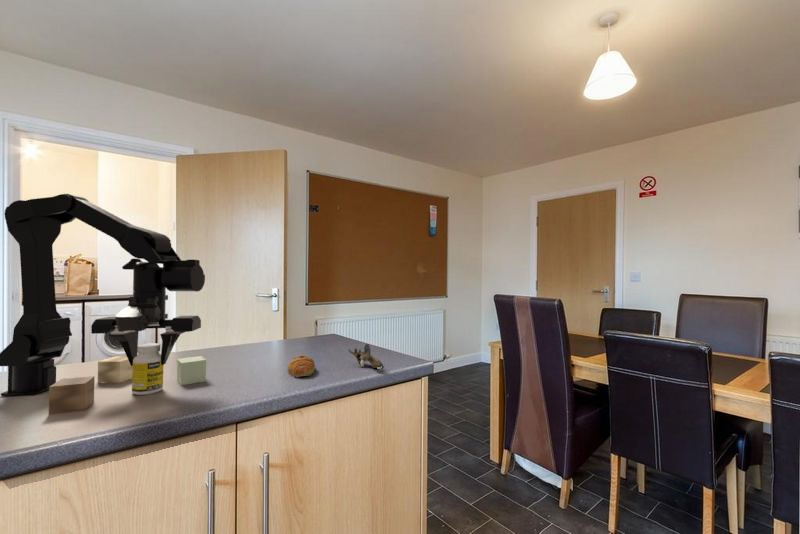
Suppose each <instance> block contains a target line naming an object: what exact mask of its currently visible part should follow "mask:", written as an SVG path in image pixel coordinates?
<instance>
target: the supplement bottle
mask: <svg viewBox="0 0 800 534" xmlns="http://www.w3.org/2000/svg"><path fill="white" fill-rule="evenodd" d="M160 351H161V344H160V343H158V342H157V343H156V342H155V343H154V342H153V343H150V342H149V343H143V344H139V345H138V348H137V356H136V357H134V359H133V372H132V379H131V380H132V381H131V382H132V383H131V393H132V394H133V395H135V396H136V395H138V396H140V395H141V396H146V395H151V394H156V393H158V392H160V391H162V390H163V387H164V365H165V364H164V365H161V353H160Z"/></svg>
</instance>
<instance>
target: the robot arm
mask: <svg viewBox="0 0 800 534" xmlns="http://www.w3.org/2000/svg"><path fill="white" fill-rule="evenodd" d="M76 219H77V220H79V221H80V222H83V223H84V224H86V225H88V226H91V227H92V228H94V229H95V230H98V231H99V232H101V233H103V234H105V235H107V236H109V237H111V238H113V239H114V240H115V241H116V242H118V244H119V246H120V247H121V249H123V250H124V251H125V252H127V253H128V254H129V255H130V256H132V258H130V260H129V261H128V262H127V263H125V264H124V265H122V266H121V268H122V270H133V272H132V273H133V277H132V278H133V280H132V282H133V283H132V296H129V299H128V304H127V306H126V307H123V309H121V310H120V311H118V312H117V313H116V314H115V315H114V316H105V317H101V318H95V320H93V321H92V324H91V327H90V329H91V334H92V335H94V334H108V337H109V338H113V339H115V340H116V341H117V342H119V345H120V346H121V347H122V349H123V351H124V353H125V356H127V358H128V360H129V362H130V365H131V366H133V359H134V357H136V356H138V352H137V348H138V343H139V332H142V331H146V329H164V330H165V331H164V332H163V333H160V334H159V336H160V338H161V341H162V342H161V350H160V351H161V353H160V354H161V365H166V364H167V362H168V359H169V356H170V354H171V353H172V350H173V348H174V346H175V344H176V342H177V341H178V339H179V337H180V336H181V335H182V334H184V333H187V332H188V333H189V332H190V333H191V332H194V331H196V330H199V329H201V327H202V320H201V317H200V316H199V315H180V316H175V317H173V318H171V319H168V317H169V314H168V313H166V301H168V299H169V295H168V294H166V292H167V291H166V290H168V291H169V292H200V291H201V290H203V288H204V285H205V281H206V275H205V274H204V270H203V268H202V266H201V264H200V261H201V260H199V259H185V260H184V259H183V260H182V259H181V257H180V256H179V255H178V254H177V253H176V251H175V249H174V248H173V247H172V243H171V241H172V240H171V239H170V238H169V237H168V235H165V234H162V233H160V232H157V231H155V230H150V229H147V228H144V227H140V226H137V225H134V224H132V223H130V222H128V221H126V220H125V219H123V218H120V216H119V217H118V216H117V215H115V214H113V213H111V212H109V211H107V210H106V209H104V208H102V207H100V206H99V205H96V204H94V203H92V202H90V201H89V200H88V199H87V198H86V197H83V196H80V195H79V196H78V195H76V194H75V195H74V194H70V193H63V194H61V193H60V194H58V195H55V196H49V197H40V198H39V197H37V198H31V199H27V200H25V199H24V200H22V199H19V200H15V201H13V202H11V203H10V204H9V205H8V206H6V207H5V209H4V220H5V223H6V228H7V231H8V233H10V235H11V237H13V239H14V240H15V241H16V242H17V244H18V245H19V263H20V277H21V292H22V293H21V295H22V307H23V308H22V309H23V311H22V315H21V317H20V318H19V320H18V322H17V323H16V325H15V326H14V327H13V333H12V341H11V342H10V343H9V344H8V345H7V346H6V347H5V348H3V350H2V351H0V367H7V391H3V392H1V393H0V396H1V397H4V396H5V397H6V396H25V395H26V396H27V395H28V396H29V395H38V394H40V393H43V392H45V391H49V387H50V386H51V385H53V384H54V383H56V382H57V366H56V365H55V358H61V357H62V356H63V355H62V354H63V352H64V349H65V347H66V345H68V344H69V343H70V337H72V336H73V333H72V331H71V323H72V322H71V318H70V317H63V316H61V314H60V313H59V312H58V310H57V303H56V302H57V301H56V284H55V267H54V254H53V253H54V252H53V249H54V248H53V244H54V243H55V241H56V240H57V238H58V237H59V236H60V234H61V230H62V226H63V225H65V224H69V223H71V222H73V221H74V220H76ZM142 260H145V261H142ZM159 264H162V265H163V266H162V267H160V266H159ZM109 333H110V334H109Z"/></svg>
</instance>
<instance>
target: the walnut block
mask: <svg viewBox="0 0 800 534" xmlns="http://www.w3.org/2000/svg"><path fill="white" fill-rule="evenodd" d="M95 377H96V376H95V375H94V376H82V377H81V376H80V377H71V378H61V379H59V380H57V381H56V383H54V384H53V385H51V386H50V387H49V389H48V415H49V416H51V415H59V414H60V415H61V414H66V413H74V412H85V411H86V410H87V409H88V408H89V407H90V406H91V405H92V404H93V403H94V402H95ZM84 410H85V411H84Z"/></svg>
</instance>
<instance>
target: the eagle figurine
mask: <svg viewBox="0 0 800 534" xmlns="http://www.w3.org/2000/svg"><path fill="white" fill-rule="evenodd" d="M363 348H364V350H363V351H362V350H361V348H359V349H358V348H357V347H355V348H354V349H353V351H352V350H351V349H350V348H348V349H347V350H348V352H349V353H350V354H351V355H353V356H354V357H355V358H356V361H357V362H358V364H360V366H361V368H362V367H364V365H365V363H366V362H369V363H370V364H371V367H372V369H373V368H377V367H381V366H383V367H384V365H383V363H382V362H381V360H380V359H378V358H377V357H375V356H373V355H372V354H371V352H372V351H371V347H370V344H369V343H367V344H363Z"/></svg>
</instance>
